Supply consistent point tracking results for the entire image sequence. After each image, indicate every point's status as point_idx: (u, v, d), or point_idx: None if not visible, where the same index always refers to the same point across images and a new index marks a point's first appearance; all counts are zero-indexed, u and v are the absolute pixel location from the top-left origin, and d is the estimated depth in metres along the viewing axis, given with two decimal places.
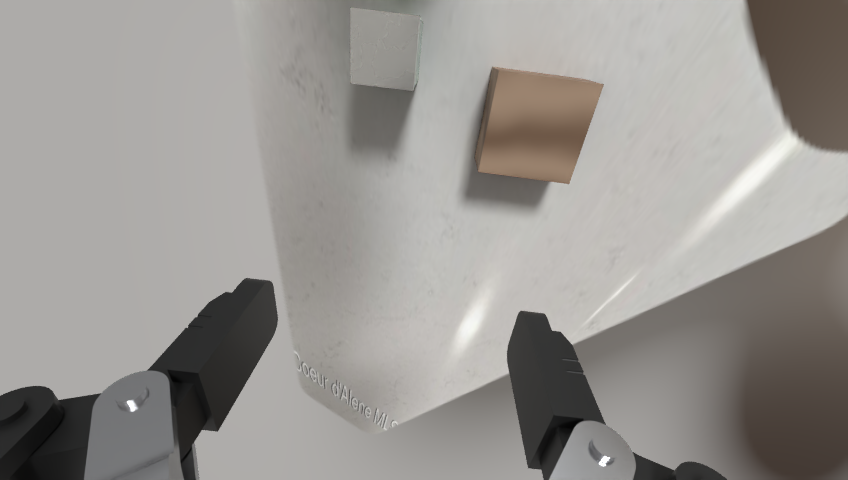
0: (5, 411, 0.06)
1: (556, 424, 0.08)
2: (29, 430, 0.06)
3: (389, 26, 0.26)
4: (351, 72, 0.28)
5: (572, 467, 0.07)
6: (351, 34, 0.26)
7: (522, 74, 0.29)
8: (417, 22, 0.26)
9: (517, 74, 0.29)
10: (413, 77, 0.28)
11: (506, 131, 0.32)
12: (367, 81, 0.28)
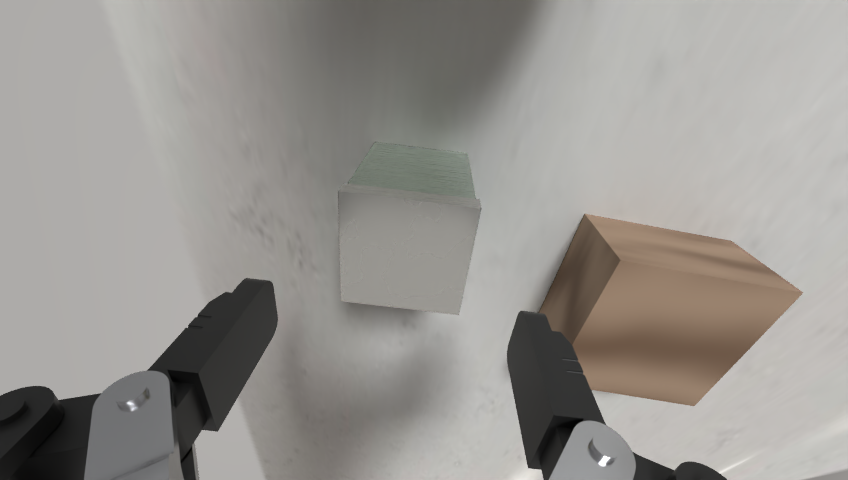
0: (5, 411, 0.06)
1: (556, 424, 0.08)
2: (29, 430, 0.06)
3: (418, 223, 0.13)
4: (342, 287, 0.15)
5: (572, 467, 0.07)
6: (341, 233, 0.13)
7: (661, 268, 0.16)
8: (475, 218, 0.13)
9: (652, 268, 0.16)
10: (460, 297, 0.15)
11: (610, 339, 0.18)
12: (373, 299, 0.15)
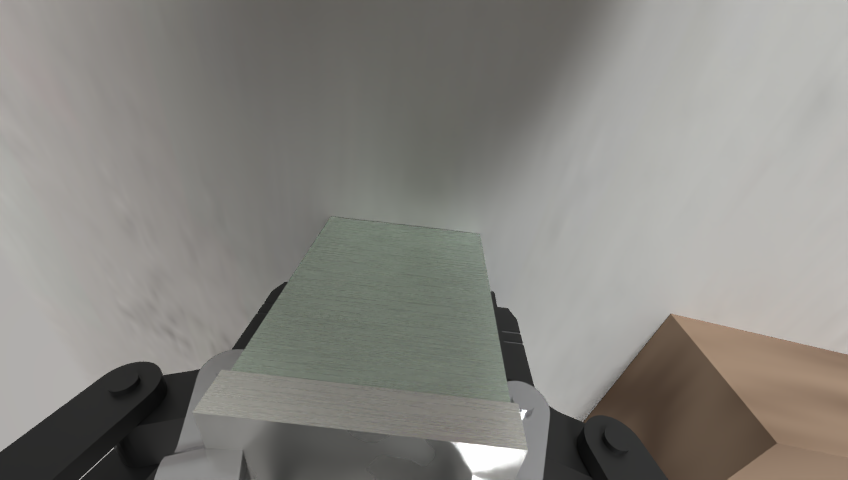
0: (123, 382, 0.07)
1: None
2: (146, 400, 0.07)
3: (383, 466, 0.06)
4: None
5: None
6: None
7: (844, 458, 0.09)
8: (513, 463, 0.06)
9: (829, 457, 0.09)
10: None
11: None
12: None
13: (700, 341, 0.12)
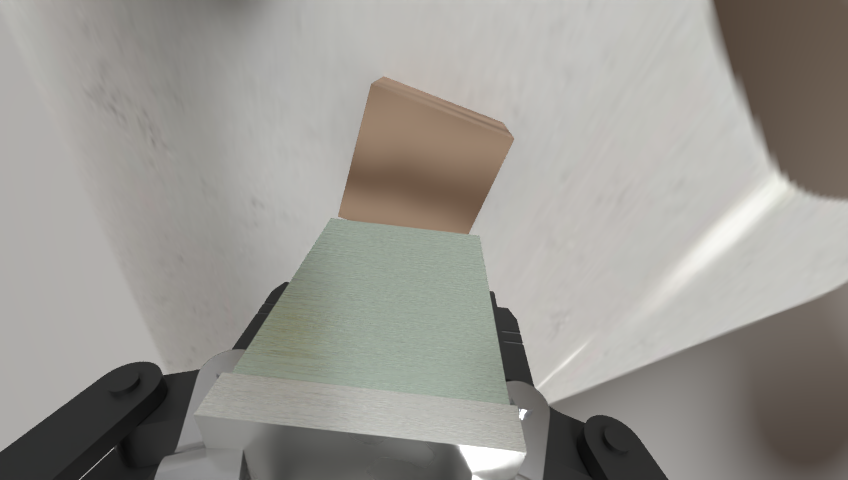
0: (124, 382, 0.07)
1: None
2: (146, 400, 0.07)
3: (383, 468, 0.06)
4: None
5: None
6: None
7: (404, 98, 0.20)
8: (512, 465, 0.06)
9: (397, 96, 0.20)
10: None
11: (378, 171, 0.22)
12: None
13: (385, 80, 0.23)
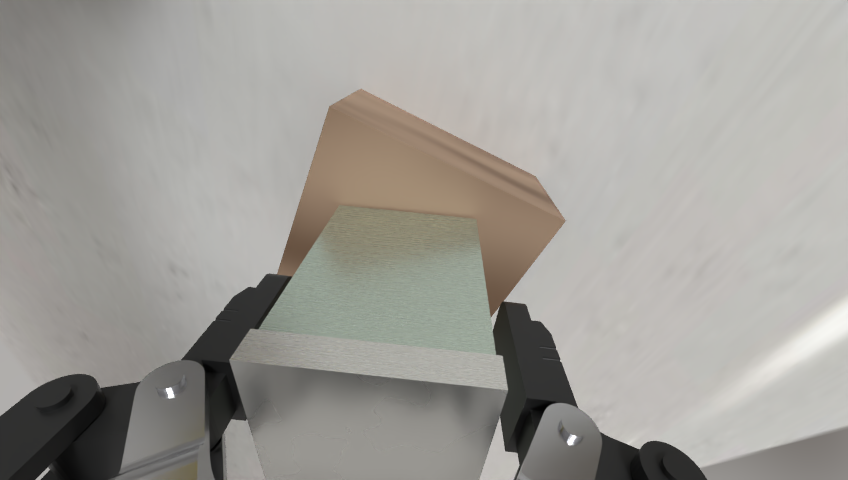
0: (53, 397, 0.07)
1: (529, 407, 0.08)
2: (77, 415, 0.06)
3: (387, 407, 0.07)
4: (269, 479, 0.09)
5: (540, 445, 0.07)
6: (251, 415, 0.07)
7: (387, 137, 0.11)
8: (496, 403, 0.07)
9: (375, 132, 0.11)
10: None
11: None
12: None
13: (361, 96, 0.14)
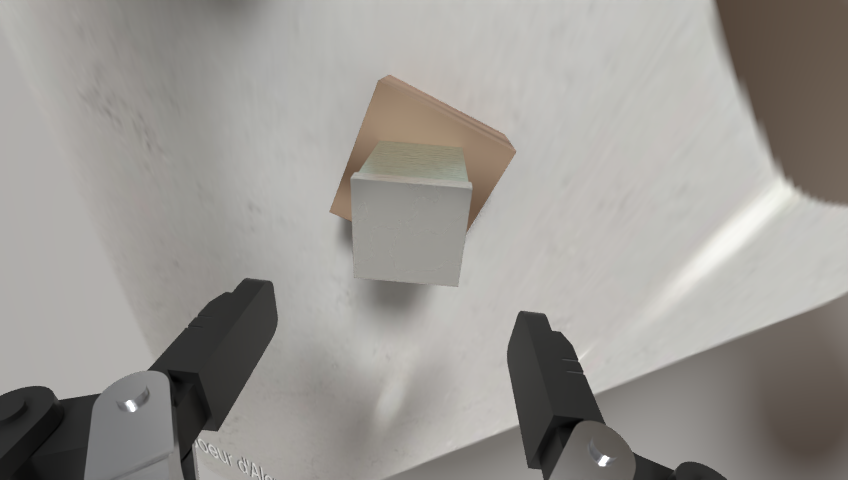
0: (6, 411, 0.06)
1: (556, 424, 0.08)
2: (29, 430, 0.06)
3: (419, 204, 0.15)
4: (355, 264, 0.17)
5: (572, 467, 0.07)
6: (354, 215, 0.15)
7: (410, 98, 0.20)
8: (468, 197, 0.15)
9: (403, 96, 0.20)
10: (458, 270, 0.17)
11: None
12: (382, 275, 0.17)
13: (392, 78, 0.22)
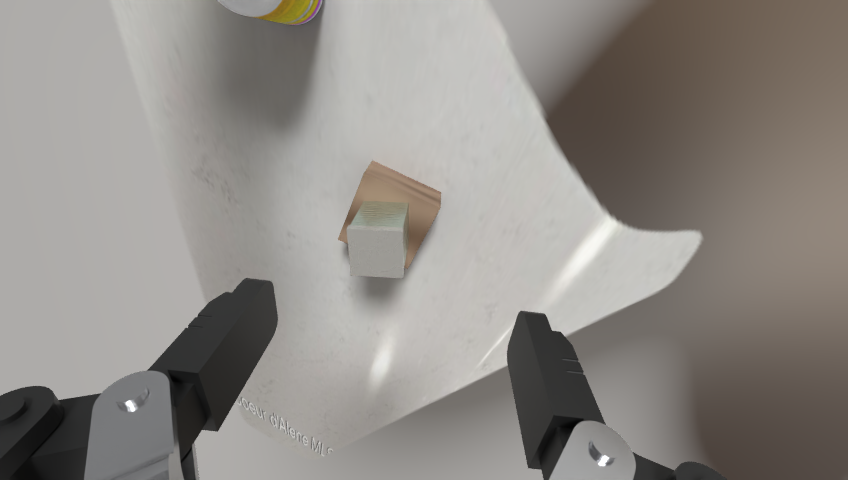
0: (5, 411, 0.06)
1: (556, 424, 0.08)
2: (29, 430, 0.06)
3: (379, 239, 0.32)
4: (351, 268, 0.34)
5: (572, 467, 0.07)
6: (349, 245, 0.33)
7: (381, 181, 0.37)
8: (401, 235, 0.32)
9: (377, 180, 0.37)
10: (402, 269, 0.34)
11: None
12: (364, 273, 0.34)
13: (373, 164, 0.40)
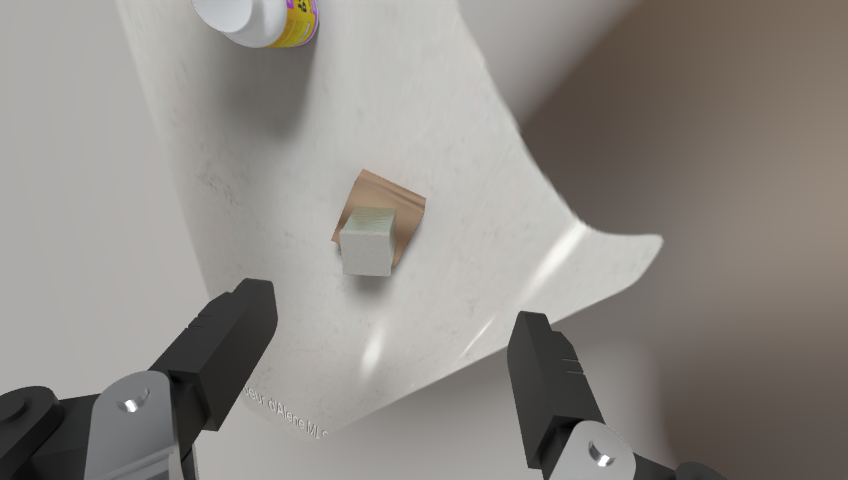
0: (5, 411, 0.06)
1: (556, 424, 0.08)
2: (29, 430, 0.06)
3: (368, 242, 0.36)
4: (343, 268, 0.38)
5: (572, 467, 0.07)
6: (341, 247, 0.37)
7: (370, 189, 0.41)
8: (387, 239, 0.36)
9: (367, 188, 0.41)
10: (389, 269, 0.38)
11: None
12: (355, 272, 0.38)
13: (363, 172, 0.43)
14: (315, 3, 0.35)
